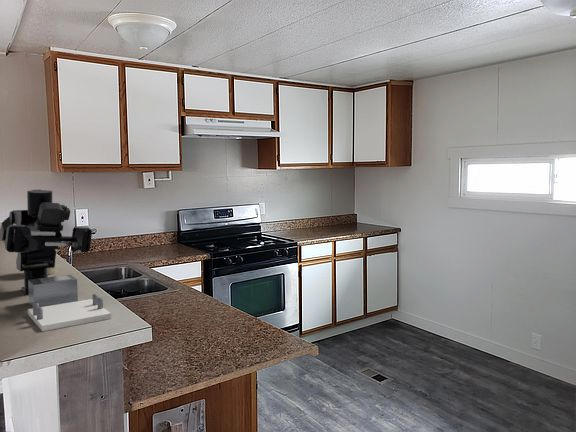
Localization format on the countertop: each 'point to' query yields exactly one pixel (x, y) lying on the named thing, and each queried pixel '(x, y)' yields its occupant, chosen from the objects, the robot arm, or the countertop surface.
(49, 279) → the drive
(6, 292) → the countertop surface
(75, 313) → the tray
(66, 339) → the countertop surface
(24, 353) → the countertop surface
